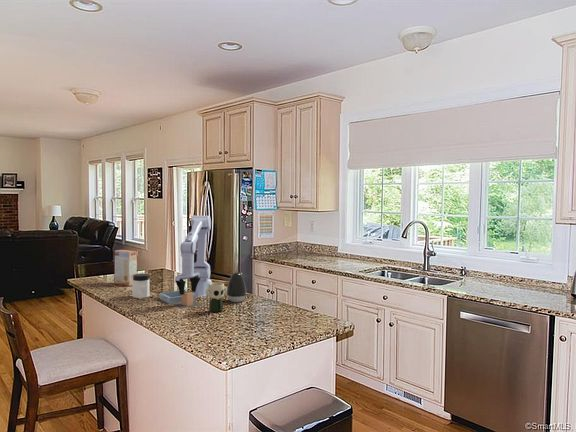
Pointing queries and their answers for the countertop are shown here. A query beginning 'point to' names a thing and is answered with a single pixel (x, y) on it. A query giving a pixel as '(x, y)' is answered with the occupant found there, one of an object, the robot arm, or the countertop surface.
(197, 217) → the robot arm
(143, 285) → the jar
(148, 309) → the countertop surface
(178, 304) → the mat
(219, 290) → the character mug
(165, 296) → the bin
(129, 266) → the cracker box
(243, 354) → the countertop surface
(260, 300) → the countertop surface
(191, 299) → the block
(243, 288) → the dark grey dome figure
